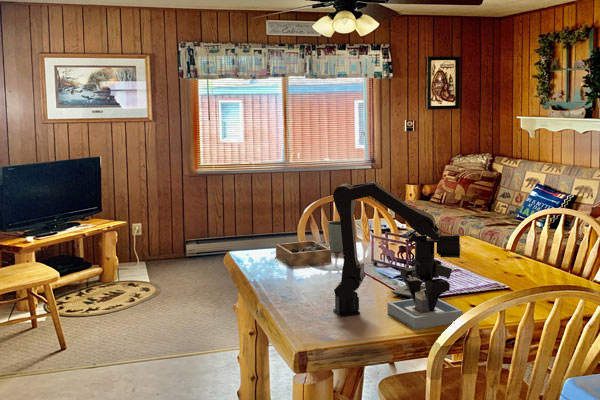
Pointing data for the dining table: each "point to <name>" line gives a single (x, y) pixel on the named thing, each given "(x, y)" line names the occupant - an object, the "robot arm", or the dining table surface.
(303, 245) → the wooden tray
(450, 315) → the walled box
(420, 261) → the robot arm
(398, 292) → the grey rectangular plate
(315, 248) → the bison figurine
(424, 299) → the plug
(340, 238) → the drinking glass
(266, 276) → the dining table surface
